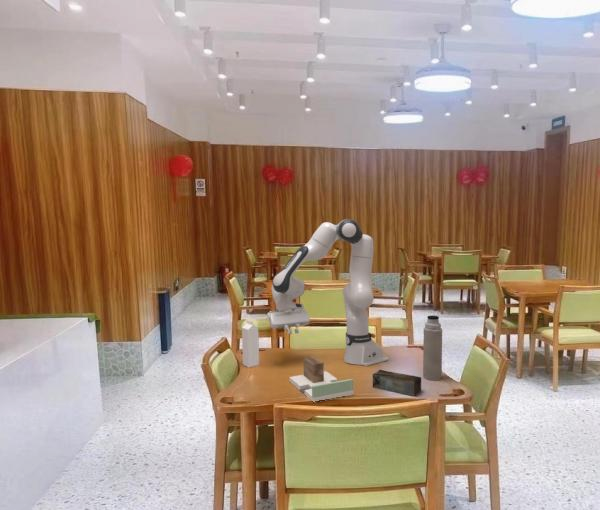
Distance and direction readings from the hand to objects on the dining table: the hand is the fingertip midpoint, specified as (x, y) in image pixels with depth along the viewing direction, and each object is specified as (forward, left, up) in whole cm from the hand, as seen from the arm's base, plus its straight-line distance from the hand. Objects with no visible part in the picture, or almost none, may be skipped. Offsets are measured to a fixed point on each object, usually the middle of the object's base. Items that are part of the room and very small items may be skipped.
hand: (293, 333), depth 214 cm
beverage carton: (-29, +43, -17) cm, 55 cm away
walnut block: (0, +22, -15) cm, 27 cm away
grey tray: (0, +29, -17) cm, 33 cm away
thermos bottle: (-51, +39, -17) cm, 67 cm away
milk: (+18, -13, -17) cm, 28 cm away
